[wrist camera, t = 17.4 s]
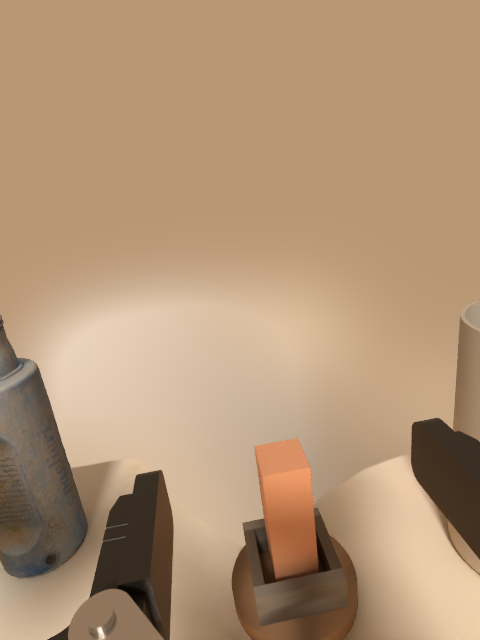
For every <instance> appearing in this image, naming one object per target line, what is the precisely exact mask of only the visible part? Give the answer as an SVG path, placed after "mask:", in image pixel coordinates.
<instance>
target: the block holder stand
mask: <svg viewBox="0 0 480 640" xmlns="http://www.w3.org/2000/svg"><path fill="white" fill-rule="evenodd" d="M314 519H315V531H316V543H317V555H318V567H319V573H316V574H312V575H307V576H303V577H298V578H293V579H289V580H284V581H280V582H275V581H274V576H273V572H272V567H271V563H270V557H269V549H268V542H267V535H266V528H265V520H264V519H260V520H255V521H250V522H245V523H243V529H244V535H245V541H246V545H245V546H244V548H243V549H242V551H241V552H240V554H239V555H238V557H237V559H236V562H235V565H234V569H233V573H232V590H233V595H234V601H235V606H236V611H237V614H238V617H239V620H240V622H241V624H242V626H243V627H244V629H245V630H246V632H247V633H248V634H249V636H250V637H251V638H252V639H253V640H342V639H343V638H344V637H345V636H346V634H347V633H348V632H349V630H350V628H351V626H352V624H353V622H354V619H355V616H356V611H357V602H358V596H357V578H356V573H355V569H354V566H353V563H352V561H351V559H350V557H349V555H348V554H347V552H346V551H345V549H344V548H343V547H342V546H341V545H340V544H339V543H338V542H337V541H336V540H335V539H334V538H332V537H331V536H329V534H328V532H327V529H326V527H325V524H324V522H323V520H322V517H321V515H320V512H319V510H318V508H314Z"/></svg>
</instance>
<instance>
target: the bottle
mask: <svg viewBox="0 0 480 640" xmlns="http://www.w3.org/2000/svg"><path fill="white" fill-rule="evenodd" d="M86 530H87V520H86V516H85V513H84V510H83V507H82V504H81V500H80V498H79V494H78V491H77V488H76V485H75V482H74V479H73V475H72V472H71V468H70V464H69V462H68V460H67V457H66V453H65V449H64V447H63V444H62V442H61V438H60V434H59V431H58V427H57V424H56V421H55V418H54V415H53V411H52V407H51V404H50V401H49V398H48V395H47V392H46V389H45V386H44V383H43V380H42V377H41V374H40V370H39V368H38V366H37V364H36V363H35V362H34V361H32V360H30V359H25V358H17V357H16V355H15V352H14V350H13V349H12V346H11V344H10V343H9V341H8V339H7V337H6V333H5V330H4V327H3V320H2V316H1V315H0V560H1V562H2V564H3V566H4V569H5V571H6V572H7V573H8V574H9V575H12V576H15V577H18V578H30V577H35V576H39V575H42V574H44V573H47V572H49V571H51V570H53V569H55V568H57V567H58V566H59V565H61V564H62V563H64V562H65V561H66V560H67V559H68V558H70V557H71V556H72V555H73V554H74V552H75V551H76V550H77V549H78V547H79V546H80V544H81V543H82V541H83V539H84V537H85V534H86Z"/></svg>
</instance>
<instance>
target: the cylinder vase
mask: <svg viewBox="0 0 480 640" xmlns="http://www.w3.org/2000/svg"><path fill="white" fill-rule="evenodd" d="M453 431H454V432H456V431H461V432H463V433H465V434H467V435H469V436H471V437H473V438H475V439H477V440H478V441H479V442H480V300H479V301H475V302H473V303H470V304H468V305H467V306H465V307H464V308H463V309H462V311H461V314H460V327H459V344H458V360H457V377H456V394H455V410H454V426H453ZM448 530H449V534H450V537H451V540H452V542H453V544H454V546H455V548H456V549H457V551H458V552H459V554H460V555H461V557H462V558H463V559H464V560H465V561H466V562H467V563H468V565H469V566H471V567H472V568H473V569H474V570H475V571H476V572H477V573H478V574H480V560H479V558H478V557H477V556H476V555H475V553H474V552H473V551H472V550H471V548H470V547H469V546H468V545H467V543H466V542H465V541H464V539H463V538H462V537H461V536H460V534H459V533H458V532H457V531H456V529H455V528H454V527H453V526H452V524H451V523H450V522H449V520H448Z"/></svg>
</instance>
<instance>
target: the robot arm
mask: <svg viewBox="0 0 480 640" xmlns="http://www.w3.org/2000/svg"><path fill="white" fill-rule="evenodd" d="M411 464H412V469H413V472H414V475H415V477H416V479H417V481H418V482H419V484H420V485H421V486H422V487H423V489H424V490H425V491H426V493H427V494H428V495H429V496H430V498H431V499H432V500H433V501H434V503H435V504H436V505H437V506H438V508H439V509H440V510H441V512H442V513H443V514H444V515H445V517H446V518H447V519H448V520H449V522H450V523H451V524H452V526H453V527H454V528H455V529H456V531H457V532H458V533H459V534H460V536H461V537H462V538H463V539H464V541H465V542H466V543H467V545H468V546H469V547H470V548H471V550H472V551H473V552H474V553H475V555H476V556H477V557H478V558H479V560H480V442H479V441H478V440H477V439H475V438H473V437H471V436H469V435H467V434H465V433H463V432H461V431H456V432H454V431H453V430H452V429H451V428H450V427H449V426H448V425H447V424H445V423H444V422H443V421H442V420H441V419H439V418H434V419H429V420H424V421H419V422H415V423H413V425H412V447H411ZM172 556H173V517H172V511H171V506H170V502H169V497H168V493H167V489H166V485H165V480H164V476H163V473H162V471H161V470H158V471H153V472H148V473H143V474H137V475H136V478H135V484H134V489H133V494H128V495H123V496H120V497H119V498H118V500H117V501H116V503H115V504H114V506H113V507H112V509H111V510H110V513H109V517H108V521H107V525H106V530H105V534H104V538H103V543H102V547H101V551H100V555H99V560H98V564H97V568H96V572H95V577H94V581H93V585H92V589H91V594H90V597H89V599H88V600H87V601H85V602H84V603H83V604H82V605H81V607H80V608H79V609H78V610H77V612H76V613H75V615H74V617H73V618H72V621H71V623H70V625H69V626H68V627H67V628H66V629H64V630H63V631H62V632H60V633H58V634H57V635H55V636H53V637H51V638H50V639H48V640H170V612H171V584H172Z"/></svg>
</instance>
